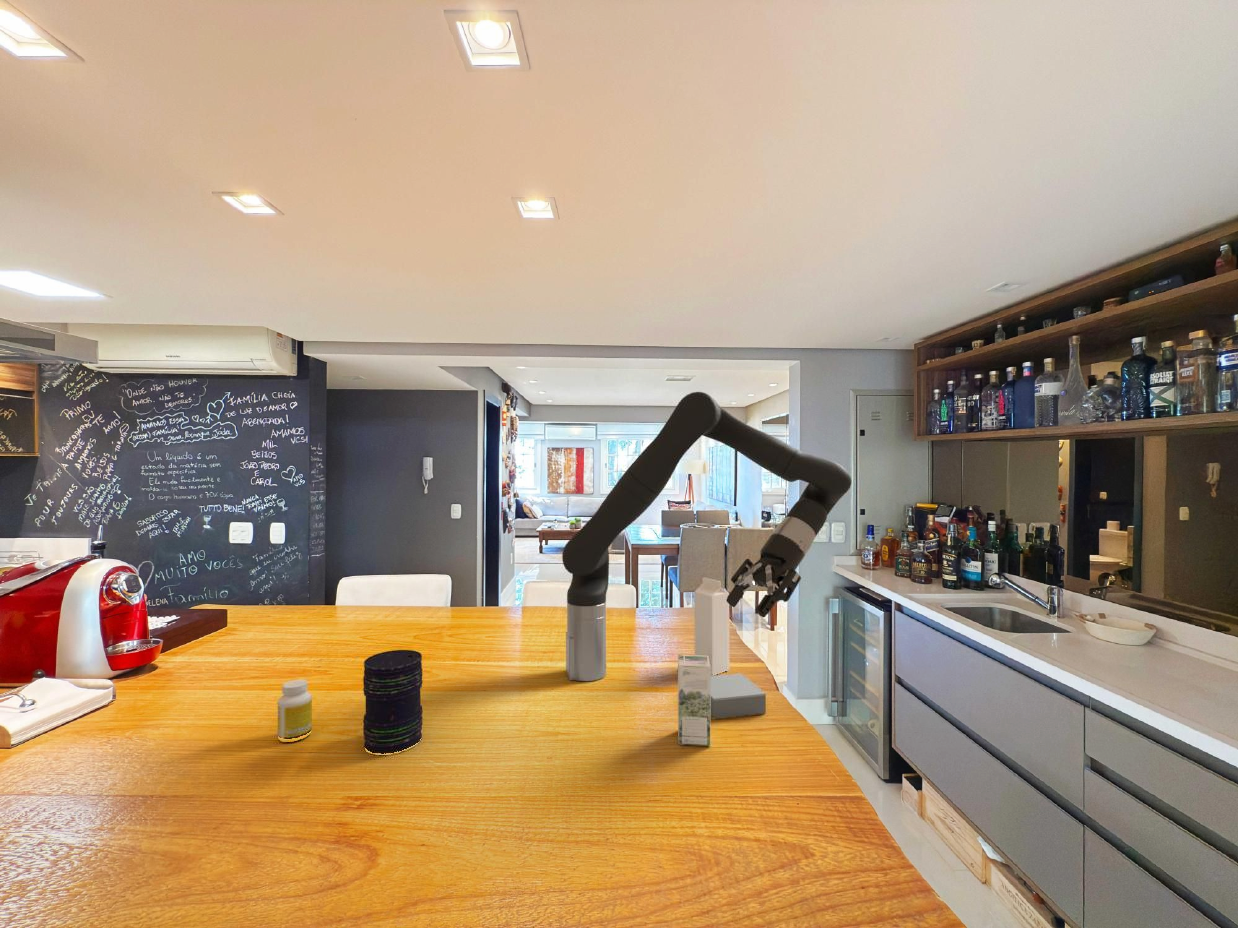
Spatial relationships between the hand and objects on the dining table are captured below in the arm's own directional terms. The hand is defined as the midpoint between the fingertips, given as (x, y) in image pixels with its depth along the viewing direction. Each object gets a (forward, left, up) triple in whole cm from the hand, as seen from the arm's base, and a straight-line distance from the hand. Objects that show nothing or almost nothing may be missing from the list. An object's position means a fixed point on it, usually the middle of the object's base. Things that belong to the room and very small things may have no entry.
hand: (744, 609), depth 106 cm
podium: (+1, +9, -22) cm, 24 cm away
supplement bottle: (-82, +14, -22) cm, 86 cm away
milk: (+5, +28, -22) cm, 36 cm away
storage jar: (-64, +8, -22) cm, 69 cm away
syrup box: (-11, -3, -22) cm, 25 cm away
